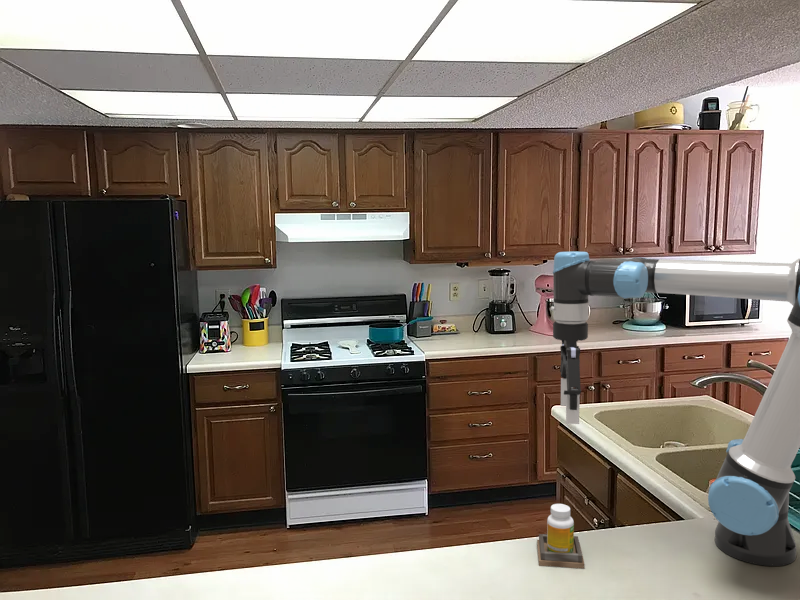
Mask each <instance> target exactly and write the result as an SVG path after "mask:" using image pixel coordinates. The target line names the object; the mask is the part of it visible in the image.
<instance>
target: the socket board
mask: <svg viewBox="0 0 800 600" xmlns="http://www.w3.org/2000/svg"><path fill="white" fill-rule="evenodd" d="M536 547H537V548H536V549H537V555H538V566H539V567H553V568H571V569H585V560H584V556H583V551H582V548H581V543H580V539H579V536H577V535H576V536H575V535H574V548H573V553H561V552H548V550H547V533H545V534H544V533H543V534H541V533H538V539H536Z"/></svg>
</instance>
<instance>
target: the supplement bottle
mask: <svg viewBox="0 0 800 600" xmlns="http://www.w3.org/2000/svg"><path fill="white" fill-rule="evenodd" d="M546 525H547V526H546V527H547V528H546V529H547V531H546V534H547V550H548V552H561V553H573V548H574V536H575V530H574V529H575V522H574V518H573V517H572V516H571V507H570V506H569V505H566V504H564V503H554V504H552V505H551V506H550V515H548V517H547V522H546Z"/></svg>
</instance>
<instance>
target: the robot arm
mask: <svg viewBox="0 0 800 600" xmlns="http://www.w3.org/2000/svg"><path fill="white" fill-rule="evenodd" d="M552 276H553V277H552V279H553V280H552V281H553V285H552V286H553V287H552V288H553V298H552V299H553V300H552V301H553V306H552V305H551V307H550V311H553V312H552V313H553V314H552V315H553V316H552V319H553V320H554V322H553V323H552V337H553V338H554V339H555V340H557V341H561V345H560V348H559V349H560V369H559V372H560V377H561V378H560V406H561V407H565V424H567V425H568V424H570V425H579V424H580V403H581V402H580V397H581V396H580V395H581V394H582V390H581V389H582V388H581V369H580V368H581V367H580V364H581V358H580V356H581V347H580V346H579V345H578V341H585V340H588V338H589V323H588V322H587V321H588V320H589V307H590V306H589V297H595V296H596V297H610V298H611V297H612V298H622V299H631V298H632V299H633V298H634V299H635V298H636V299H639V298H642V297H643V296H644V295H645V293H650V294H656V293H658V294H672V295H673V294H675V295H685V296H686V295H688V296H701V297H702V296H703V297H715V298H730V299H731V298H733V299H745V300H757V301H759V300H760V301H775V302H787V303H789V304H791V305H792V306H793V307H792V308H791V310H790V313H789V315H788V318H787V319H786V321H787V323H788V326H789V327H790V330H791V335H790V337H788V338H789V339H788V341H787V343H786V345H785V347H784V350H783V351H782V354H781V356H780V359H779V361H778V363H777V365H776V367H775V369H774V372H773V374H772V376H771V378H770V381H769V383H768V386H767V387H766V390H765V392H764V394H763V395H762V398H761V401H760V402H759V405H758V408H757V409H756V412H755V413H754V417H753V418H752V420H751V423H750V425H749V427H748V429H747V431H746V434H745V437H744V438H738V439H737V438H736V439H732V440H730V441H728V443H727V447H726V451H725V452H726V456H725V458H724V460H723V463H722V465H721V467H720V469H719V471H718V474H717V476H716V479H715V480H714V481H713V482H712V483H711V484H710V486H709V489H708V493H707V503H708V507H709V509H710V511H711V514H712V515H713V516H714V518H715V519H716V520H717V522H718V523H717V525H716V527H715V530H714V542H715V545H716V547H718V549H720V550H721V552H723V553H725V554H727V556H731V557H732V558H734V559H737V560H739V561H742V562H745V563H749V564H753V565H757V566H758V565H759V566H767V567H780V566H786V565H790V564H792V563H794V562H795V560H796V558H797V543H796V540H795V537H794V534H793V531H792V528H791V525H790V521H789V506H790V505H789V503H790V491H791V489H792V487H793V484H794V483H795V480H796V475H795V473H794V471H793V469H792V465H793V462H794V460H795V459H796V456H797V453H798V452H799V449H800V258H798V259H796V260H795V261H793V262H791V263H788V262H787V263H785V262H759V261H758V262H754V261H725V260H724V261H723V260H699V259H698V260H695V259H693V260H692V259H669V258H668V259H666V258H665V259H663V258H662V259H661V258H660V259H656V258H646V257H642V256H641V257H640V256H639V257H637V256H635V257H632V258H629V259H623V260H617V261H616V260H615V261H613V260H612V261H608V260H607V261H596V260H591V259H590V255H589V253H588V252H587V251H559V252H557V253H556V254H555V255H554V257H553V271H552Z"/></svg>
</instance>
